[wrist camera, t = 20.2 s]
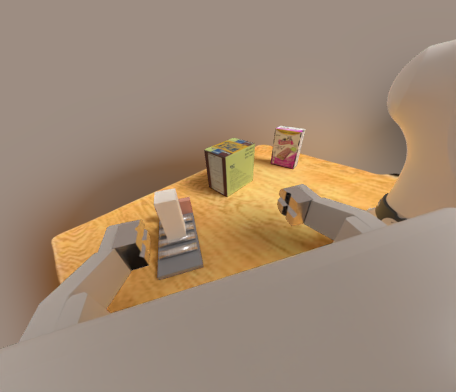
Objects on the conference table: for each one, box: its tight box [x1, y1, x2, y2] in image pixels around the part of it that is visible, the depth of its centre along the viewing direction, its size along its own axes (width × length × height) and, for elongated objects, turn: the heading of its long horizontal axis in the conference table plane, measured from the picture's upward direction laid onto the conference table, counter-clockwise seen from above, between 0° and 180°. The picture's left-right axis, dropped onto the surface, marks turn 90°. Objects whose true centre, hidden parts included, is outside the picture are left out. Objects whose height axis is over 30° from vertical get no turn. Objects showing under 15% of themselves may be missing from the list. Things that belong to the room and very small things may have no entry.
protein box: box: [204, 138, 255, 197], centre depth 63 cm, size 10×15×16 cm
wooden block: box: [154, 189, 187, 241], centre depth 40 cm, size 4×4×12 cm
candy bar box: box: [271, 126, 305, 169], centre depth 74 cm, size 11×5×16 cm, turn 55°
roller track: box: [155, 197, 203, 280], centre depth 44 cm, size 10×20×6 cm, turn 17°
